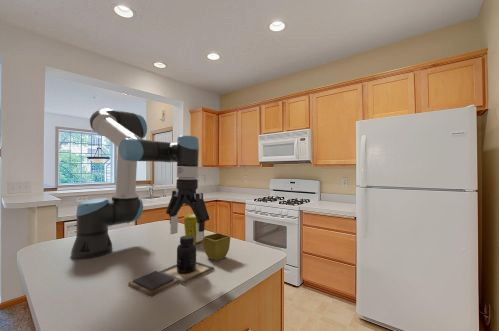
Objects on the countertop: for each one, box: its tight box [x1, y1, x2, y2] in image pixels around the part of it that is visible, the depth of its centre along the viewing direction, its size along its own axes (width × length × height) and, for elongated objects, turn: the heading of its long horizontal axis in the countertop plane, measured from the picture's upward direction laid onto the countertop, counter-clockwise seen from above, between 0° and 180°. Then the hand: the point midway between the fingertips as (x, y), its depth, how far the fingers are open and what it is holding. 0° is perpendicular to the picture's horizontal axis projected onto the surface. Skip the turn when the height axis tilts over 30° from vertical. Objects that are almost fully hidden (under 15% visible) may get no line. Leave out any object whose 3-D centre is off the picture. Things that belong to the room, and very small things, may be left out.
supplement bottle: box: [176, 235, 197, 274], centre depth 84 cm, size 7×7×12 cm
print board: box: [158, 261, 215, 286], centre depth 84 cm, size 14×14×1 cm
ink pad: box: [132, 270, 174, 291], centre depth 75 cm, size 10×8×1 cm
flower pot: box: [202, 232, 231, 261], centre depth 97 cm, size 9×9×9 cm
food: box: [183, 212, 205, 245], centre depth 119 cm, size 15×12×10 cm
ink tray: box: [127, 270, 179, 298], centre depth 75 cm, size 12×10×1 cm
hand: (186, 236), depth 84 cm, fingers open, 13 cm apart
